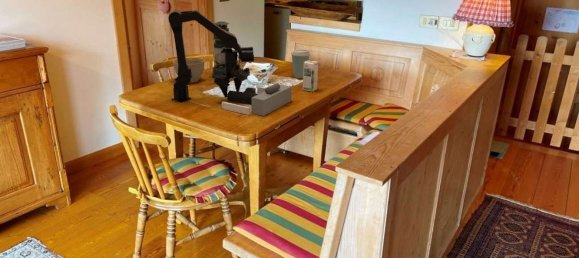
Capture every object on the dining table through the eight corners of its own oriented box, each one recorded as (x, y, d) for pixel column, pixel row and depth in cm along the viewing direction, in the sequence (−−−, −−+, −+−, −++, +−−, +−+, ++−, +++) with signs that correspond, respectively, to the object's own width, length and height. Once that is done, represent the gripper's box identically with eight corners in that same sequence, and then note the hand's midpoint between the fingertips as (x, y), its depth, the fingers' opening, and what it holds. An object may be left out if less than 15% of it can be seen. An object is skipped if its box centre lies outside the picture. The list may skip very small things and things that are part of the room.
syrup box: (302, 90, 216) (303, 62, 211) (307, 87, 221) (308, 59, 216) (312, 92, 214) (313, 63, 208) (317, 89, 219) (318, 61, 213)
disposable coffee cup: (287, 78, 237) (288, 51, 231) (293, 73, 246) (294, 47, 240) (306, 80, 234) (307, 52, 228) (311, 75, 243) (312, 49, 238)
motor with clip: (260, 117, 178) (260, 94, 175) (221, 108, 187) (221, 86, 184) (293, 99, 202) (294, 79, 198) (258, 92, 211) (258, 72, 207)
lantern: (205, 73, 241) (203, 19, 230) (229, 70, 248) (227, 17, 237) (219, 81, 226) (217, 24, 214) (244, 78, 233) (243, 22, 222)
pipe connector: (236, 84, 204) (266, 88, 201) (237, 95, 207) (266, 98, 203) (227, 91, 194) (258, 95, 191) (227, 102, 196) (258, 106, 193)
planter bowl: (207, 77, 234) (206, 57, 230) (202, 85, 219) (201, 64, 215) (177, 76, 234) (176, 56, 229) (171, 84, 219) (169, 63, 214)
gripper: (233, 68, 184) (233, 103, 190) (257, 60, 199) (257, 92, 205) (212, 65, 189) (214, 98, 195) (237, 57, 204) (238, 88, 210)
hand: (231, 94), depth 201 cm, fingers open, 9 cm apart
